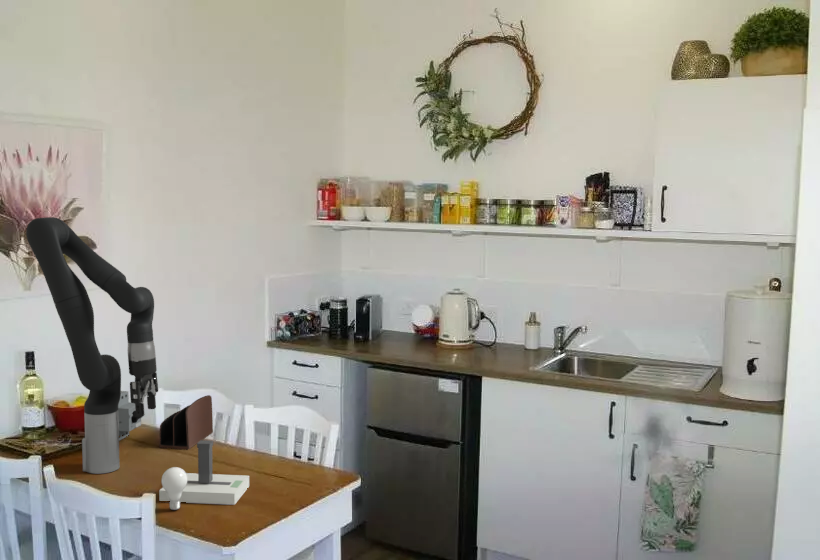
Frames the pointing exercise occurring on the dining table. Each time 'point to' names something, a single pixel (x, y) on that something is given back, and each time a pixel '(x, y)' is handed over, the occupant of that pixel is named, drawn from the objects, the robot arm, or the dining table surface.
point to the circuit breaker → (127, 416)
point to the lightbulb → (174, 485)
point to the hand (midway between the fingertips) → (146, 412)
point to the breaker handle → (205, 461)
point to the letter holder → (188, 425)
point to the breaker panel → (212, 489)
